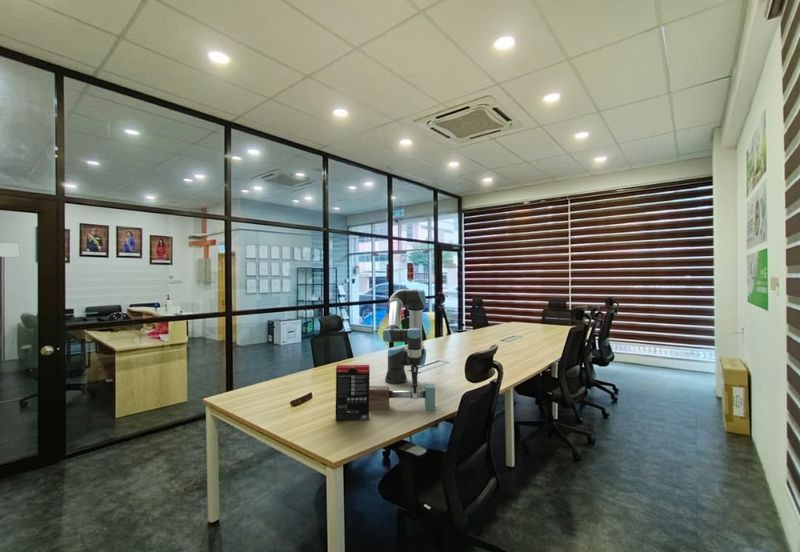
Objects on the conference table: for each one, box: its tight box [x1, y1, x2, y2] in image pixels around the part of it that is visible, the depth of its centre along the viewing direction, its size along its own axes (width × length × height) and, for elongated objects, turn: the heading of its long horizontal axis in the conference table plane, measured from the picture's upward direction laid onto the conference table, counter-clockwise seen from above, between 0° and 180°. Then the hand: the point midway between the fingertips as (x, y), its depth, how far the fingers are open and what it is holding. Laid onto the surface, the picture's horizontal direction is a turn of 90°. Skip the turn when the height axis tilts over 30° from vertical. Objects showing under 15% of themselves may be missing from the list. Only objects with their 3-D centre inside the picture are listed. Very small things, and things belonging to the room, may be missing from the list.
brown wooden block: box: [369, 385, 390, 411], centre depth 201 cm, size 7×12×11 cm, turn 90°
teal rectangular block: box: [424, 383, 436, 411], centre depth 201 cm, size 8×5×12 cm, turn 0°
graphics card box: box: [335, 364, 371, 422], centre depth 185 cm, size 17×7×27 cm, turn 96°
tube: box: [389, 389, 426, 399], centre depth 201 cm, size 26×4×4 cm, turn 90°
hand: (414, 394), depth 201 cm, fingers open, 13 cm apart
